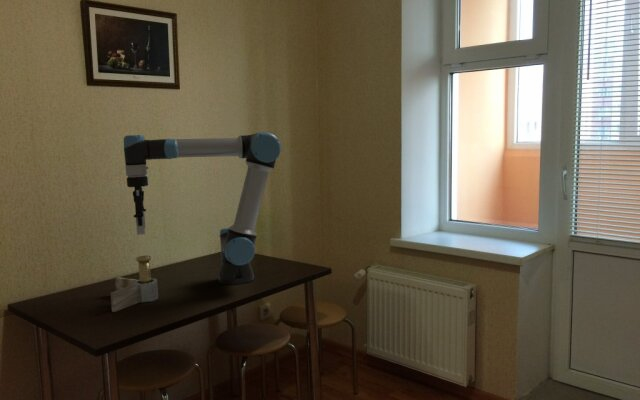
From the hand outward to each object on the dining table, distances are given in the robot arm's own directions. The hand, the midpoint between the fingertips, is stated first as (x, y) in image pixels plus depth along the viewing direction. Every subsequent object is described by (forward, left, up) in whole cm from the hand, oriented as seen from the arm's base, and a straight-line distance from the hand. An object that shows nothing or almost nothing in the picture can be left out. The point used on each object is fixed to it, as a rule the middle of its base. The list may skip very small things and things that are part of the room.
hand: (141, 231), depth 201 cm
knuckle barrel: (0, 0, -27) cm, 27 cm away
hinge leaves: (+8, +8, -27) cm, 29 cm away
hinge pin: (0, 0, -27) cm, 27 cm away
